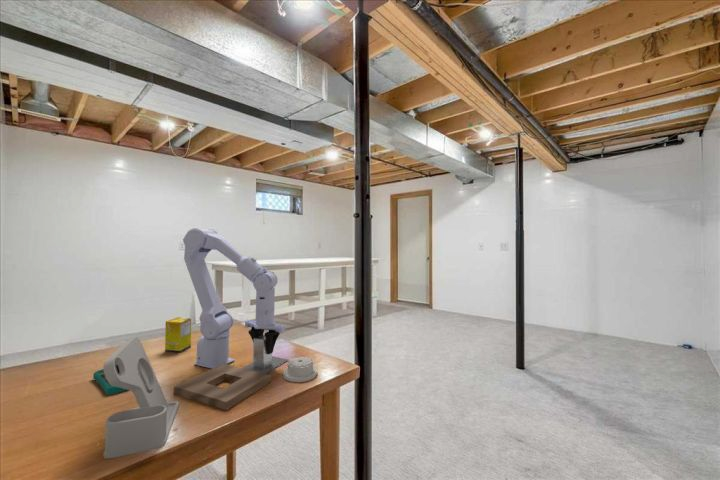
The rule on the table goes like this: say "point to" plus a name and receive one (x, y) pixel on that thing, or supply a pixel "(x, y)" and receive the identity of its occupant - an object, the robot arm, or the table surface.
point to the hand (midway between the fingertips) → (264, 352)
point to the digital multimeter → (106, 383)
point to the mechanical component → (300, 370)
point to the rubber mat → (275, 363)
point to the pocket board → (219, 397)
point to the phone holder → (154, 412)
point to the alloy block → (261, 353)
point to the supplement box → (178, 335)
